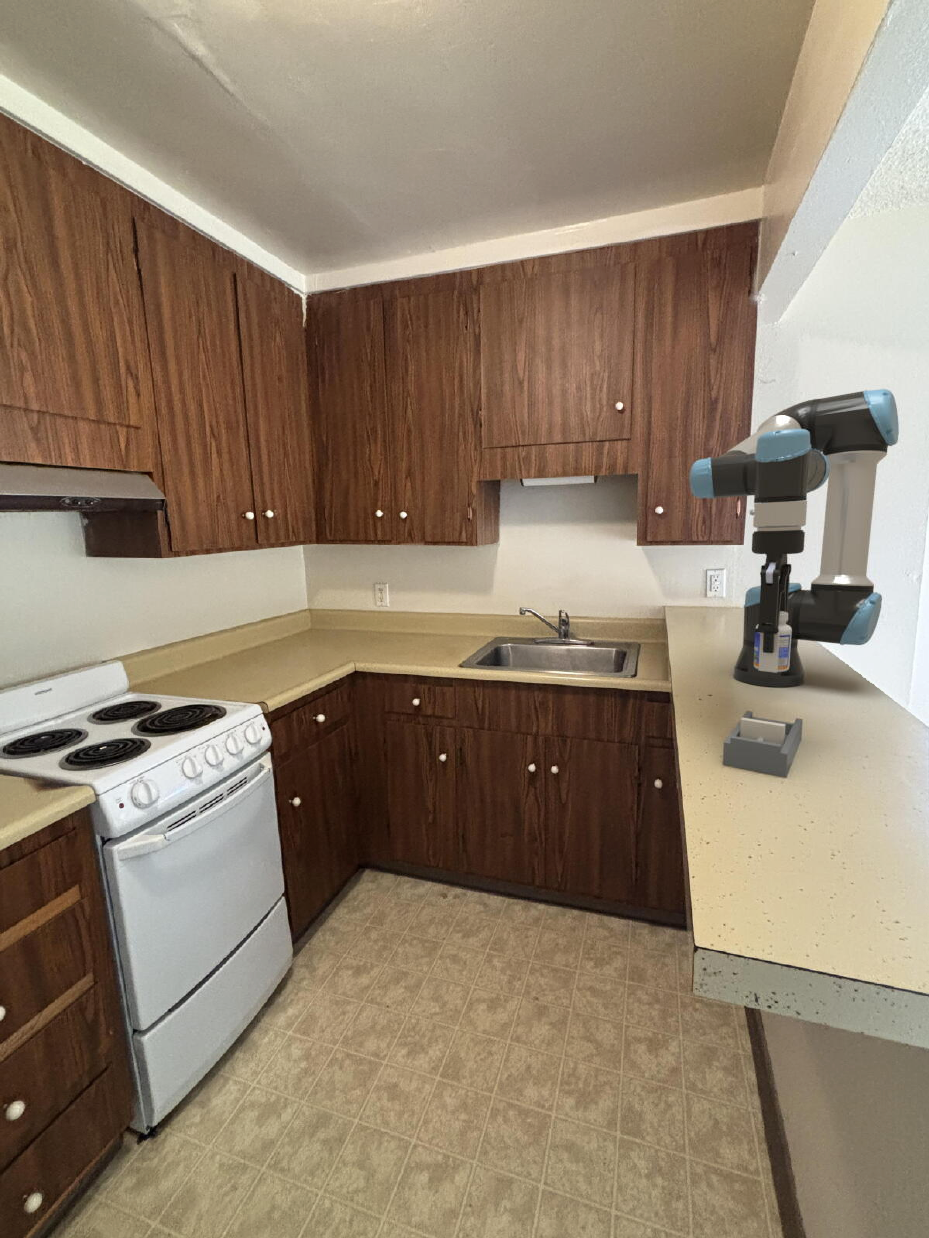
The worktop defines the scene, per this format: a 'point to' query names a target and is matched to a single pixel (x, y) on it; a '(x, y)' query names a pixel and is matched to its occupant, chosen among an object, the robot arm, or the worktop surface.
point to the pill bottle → (783, 644)
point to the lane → (763, 749)
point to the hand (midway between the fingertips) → (771, 666)
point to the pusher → (763, 731)
